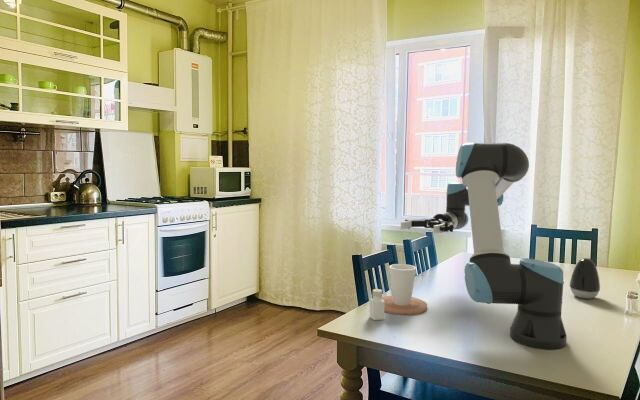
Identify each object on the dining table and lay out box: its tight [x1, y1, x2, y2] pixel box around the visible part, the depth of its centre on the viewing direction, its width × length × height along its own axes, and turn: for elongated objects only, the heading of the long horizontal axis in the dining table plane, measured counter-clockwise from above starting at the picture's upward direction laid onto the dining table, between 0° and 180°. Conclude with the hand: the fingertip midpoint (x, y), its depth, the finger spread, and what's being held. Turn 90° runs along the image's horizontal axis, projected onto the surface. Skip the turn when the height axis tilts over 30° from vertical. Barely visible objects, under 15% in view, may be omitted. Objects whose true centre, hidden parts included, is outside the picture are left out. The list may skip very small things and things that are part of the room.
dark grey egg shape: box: [569, 258, 601, 300], centre depth 180 cm, size 10×10×15 cm
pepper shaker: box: [369, 288, 385, 321], centre depth 153 cm, size 4×4×10 cm
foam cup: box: [388, 263, 417, 305], centre depth 166 cm, size 10×9×13 cm
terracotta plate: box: [382, 295, 428, 316], centre depth 166 cm, size 18×18×1 cm
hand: (417, 227), depth 171 cm, fingers open, 13 cm apart
